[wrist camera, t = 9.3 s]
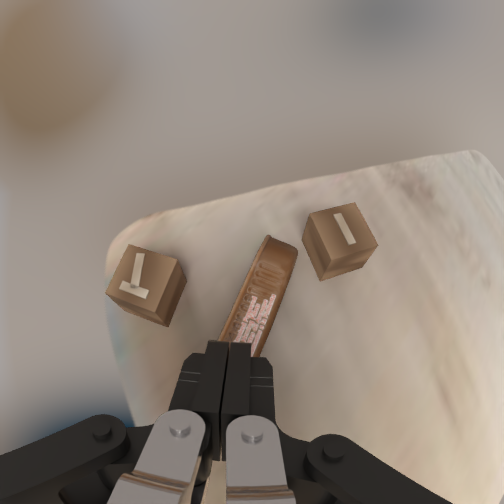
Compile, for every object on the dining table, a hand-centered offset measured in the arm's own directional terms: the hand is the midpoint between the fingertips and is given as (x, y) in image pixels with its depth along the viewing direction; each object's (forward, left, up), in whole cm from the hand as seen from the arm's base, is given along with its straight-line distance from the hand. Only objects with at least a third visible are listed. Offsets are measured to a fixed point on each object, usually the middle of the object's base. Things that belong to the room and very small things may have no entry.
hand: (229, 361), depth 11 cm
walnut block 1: (-8, -12, -15) cm, 21 cm away
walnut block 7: (+8, -7, -15) cm, 18 cm away
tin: (0, -3, -15) cm, 16 cm away
